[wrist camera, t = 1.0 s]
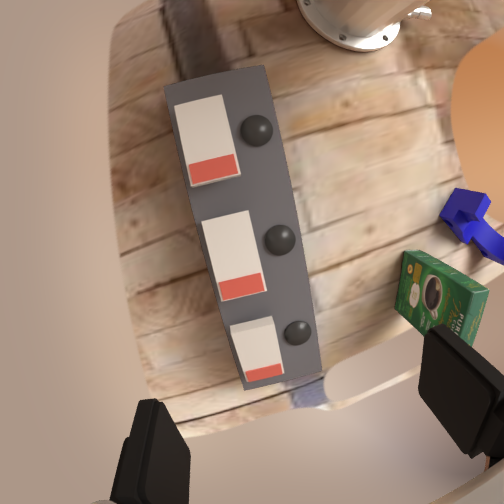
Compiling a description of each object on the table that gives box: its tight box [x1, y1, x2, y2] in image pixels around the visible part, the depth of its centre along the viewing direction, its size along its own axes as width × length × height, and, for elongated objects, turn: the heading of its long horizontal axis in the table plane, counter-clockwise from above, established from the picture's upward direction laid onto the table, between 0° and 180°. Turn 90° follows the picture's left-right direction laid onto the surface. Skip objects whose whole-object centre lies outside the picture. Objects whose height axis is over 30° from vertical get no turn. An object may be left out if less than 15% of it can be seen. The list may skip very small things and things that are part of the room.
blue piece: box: [439, 188, 504, 265], centre depth 33 cm, size 12×4×6 cm, turn 55°
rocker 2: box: [201, 210, 267, 302], centre depth 27 cm, size 4×7×2 cm, turn 12°
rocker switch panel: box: [164, 65, 322, 391], centre depth 31 cm, size 9×32×4 cm, turn 12°
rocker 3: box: [230, 316, 284, 382], centre depth 30 cm, size 4×7×2 cm, turn 13°
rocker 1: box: [174, 94, 241, 188], centre depth 25 cm, size 4×7×2 cm, turn 13°
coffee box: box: [395, 250, 489, 347], centre depth 30 cm, size 8×3×13 cm, turn 179°
